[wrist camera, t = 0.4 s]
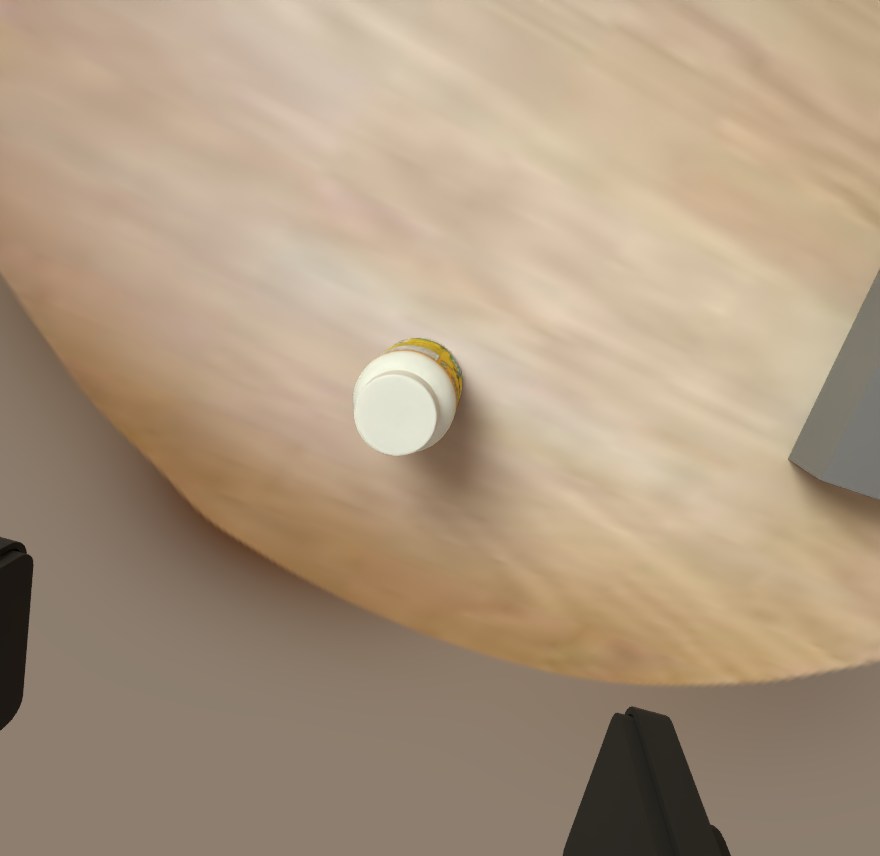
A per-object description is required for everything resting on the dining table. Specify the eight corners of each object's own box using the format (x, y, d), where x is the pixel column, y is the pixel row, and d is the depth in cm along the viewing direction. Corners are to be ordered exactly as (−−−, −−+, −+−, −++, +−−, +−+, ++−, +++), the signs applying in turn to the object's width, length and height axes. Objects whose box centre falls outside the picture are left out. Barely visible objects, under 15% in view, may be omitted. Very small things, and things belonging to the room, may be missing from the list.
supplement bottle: (386, 328, 39) (350, 346, 30) (472, 347, 39) (463, 372, 30) (369, 412, 40) (330, 455, 31) (452, 432, 40) (438, 480, 31)
